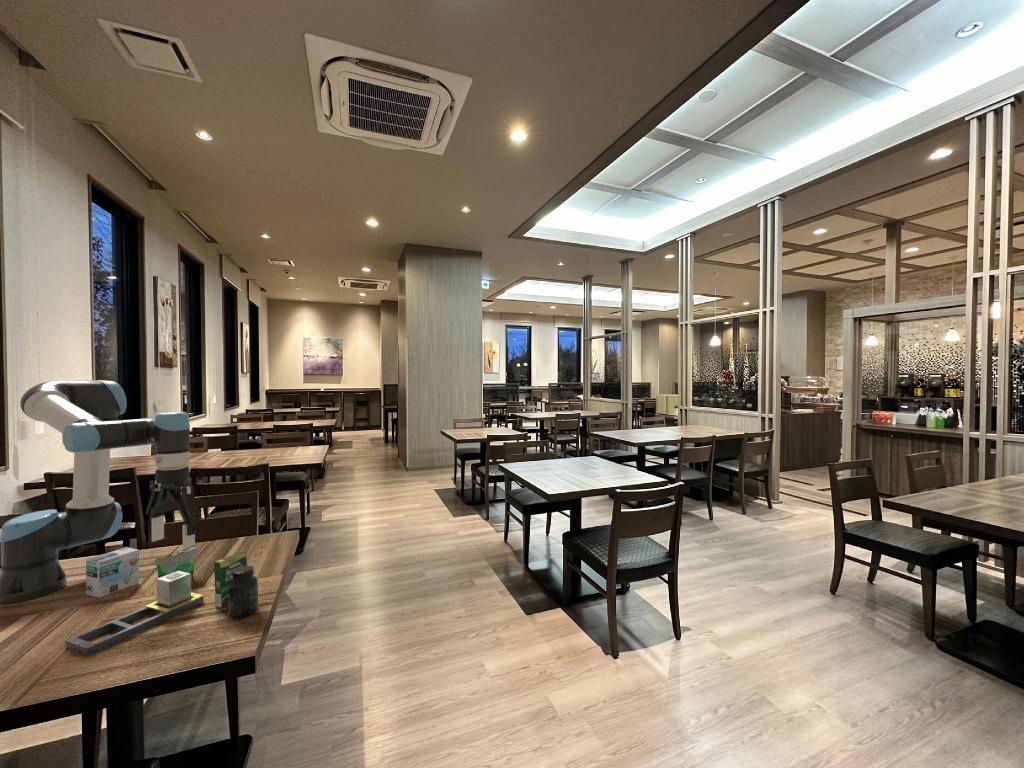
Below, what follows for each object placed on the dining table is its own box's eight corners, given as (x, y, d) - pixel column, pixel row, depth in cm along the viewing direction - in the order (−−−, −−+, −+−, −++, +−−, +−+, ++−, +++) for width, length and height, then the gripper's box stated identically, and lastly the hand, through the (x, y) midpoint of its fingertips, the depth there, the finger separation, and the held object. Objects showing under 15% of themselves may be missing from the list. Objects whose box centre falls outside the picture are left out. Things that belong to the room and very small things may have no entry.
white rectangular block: (157, 611, 119) (156, 578, 119) (178, 602, 124) (178, 570, 124) (169, 615, 117) (169, 581, 117) (191, 605, 122) (190, 573, 122)
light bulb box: (99, 598, 126) (98, 562, 126) (84, 595, 128) (84, 559, 129) (140, 582, 136) (140, 548, 136) (126, 579, 139) (126, 546, 139)
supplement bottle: (254, 604, 122) (253, 561, 122) (261, 612, 117) (261, 568, 117) (225, 613, 117) (225, 569, 117) (232, 623, 112) (232, 577, 112)
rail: (65, 647, 102) (65, 639, 102) (183, 597, 126) (183, 590, 126) (86, 656, 99) (86, 647, 99) (203, 602, 123) (203, 595, 123)
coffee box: (220, 610, 119) (220, 562, 119) (214, 608, 120) (213, 561, 120) (248, 596, 126) (248, 552, 126) (242, 594, 127) (241, 550, 127)
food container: (171, 593, 129) (170, 559, 129) (154, 591, 130) (154, 558, 130) (207, 575, 141) (207, 544, 141) (192, 573, 143) (191, 543, 143)
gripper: (129, 466, 121) (130, 541, 121) (187, 473, 112) (187, 554, 112) (159, 462, 128) (160, 532, 128) (216, 468, 119) (216, 544, 119)
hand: (173, 543), depth 120 cm, fingers open, 13 cm apart
